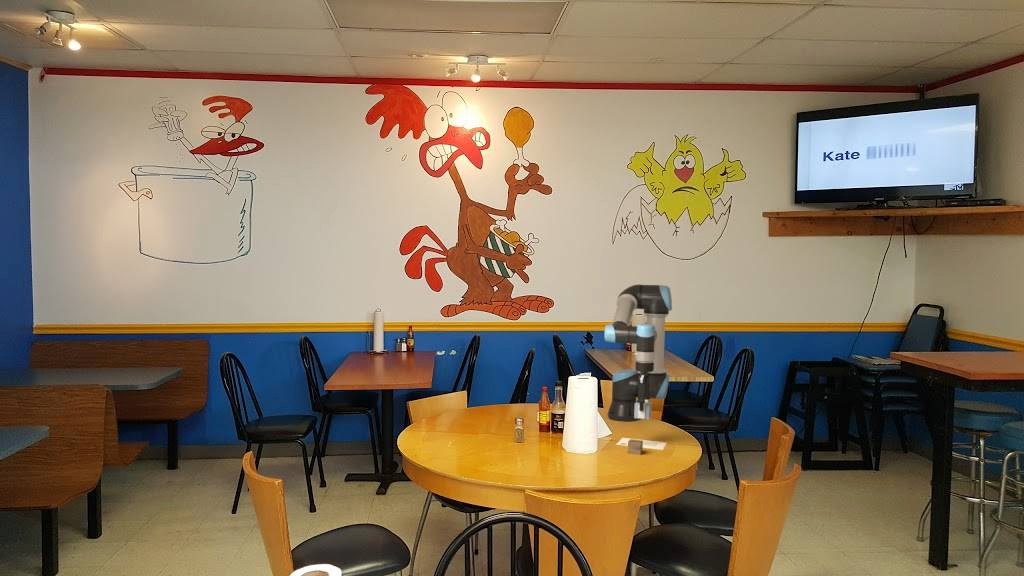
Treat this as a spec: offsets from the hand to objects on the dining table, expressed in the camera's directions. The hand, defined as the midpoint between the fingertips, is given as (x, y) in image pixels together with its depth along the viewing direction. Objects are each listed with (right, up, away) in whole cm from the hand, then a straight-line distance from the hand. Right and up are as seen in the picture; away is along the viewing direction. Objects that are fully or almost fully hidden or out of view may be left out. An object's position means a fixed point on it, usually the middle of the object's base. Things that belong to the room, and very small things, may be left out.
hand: (642, 416), depth 315 cm
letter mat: (0, -12, +1) cm, 12 cm away
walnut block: (-5, -13, -13) cm, 19 cm away
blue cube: (0, 0, 0) cm, 0 cm away
